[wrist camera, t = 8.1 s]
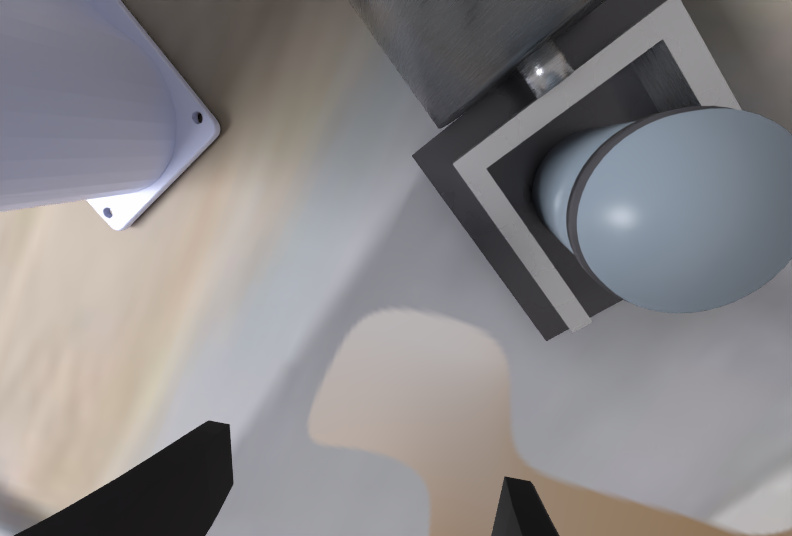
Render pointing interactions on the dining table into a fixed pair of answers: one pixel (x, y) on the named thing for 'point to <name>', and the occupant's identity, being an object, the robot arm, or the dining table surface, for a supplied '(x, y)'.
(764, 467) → the dining table surface
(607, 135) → the banded grey cylinder
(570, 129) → the motor
